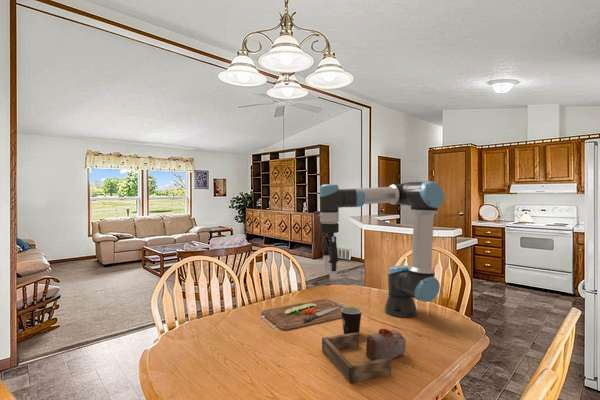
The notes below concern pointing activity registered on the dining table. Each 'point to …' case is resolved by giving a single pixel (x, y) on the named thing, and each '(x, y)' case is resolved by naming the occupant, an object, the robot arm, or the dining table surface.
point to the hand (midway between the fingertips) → (329, 274)
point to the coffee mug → (351, 319)
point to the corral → (357, 370)
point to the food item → (385, 345)
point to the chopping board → (303, 314)
